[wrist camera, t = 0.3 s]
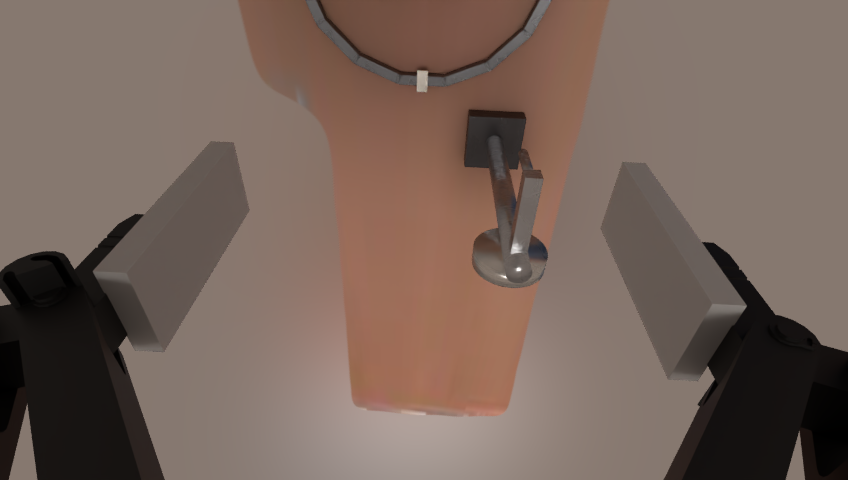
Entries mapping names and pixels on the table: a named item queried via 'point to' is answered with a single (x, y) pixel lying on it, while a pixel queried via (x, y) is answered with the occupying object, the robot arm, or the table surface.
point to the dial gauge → (506, 200)
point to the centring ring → (423, 76)
